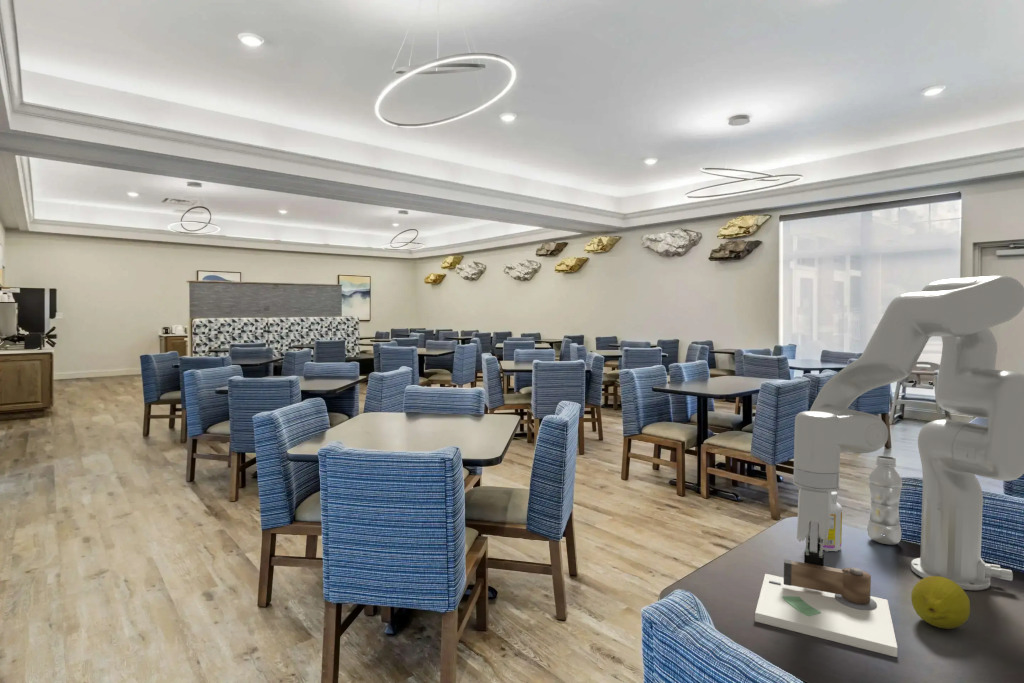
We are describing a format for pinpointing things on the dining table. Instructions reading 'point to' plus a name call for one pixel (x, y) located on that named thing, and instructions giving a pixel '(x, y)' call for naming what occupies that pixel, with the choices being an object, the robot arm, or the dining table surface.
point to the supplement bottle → (834, 526)
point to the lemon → (940, 602)
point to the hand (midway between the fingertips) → (813, 574)
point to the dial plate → (827, 616)
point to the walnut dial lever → (829, 580)
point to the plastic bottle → (885, 502)
